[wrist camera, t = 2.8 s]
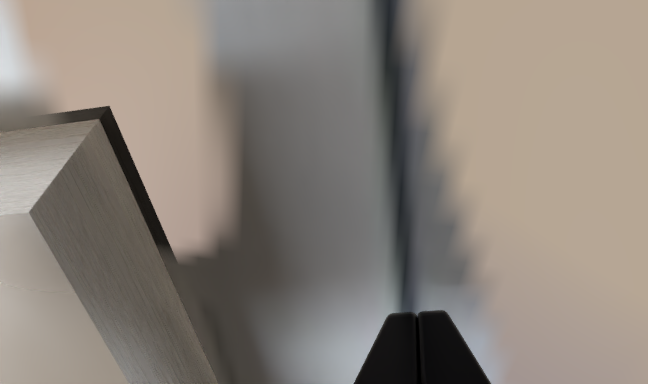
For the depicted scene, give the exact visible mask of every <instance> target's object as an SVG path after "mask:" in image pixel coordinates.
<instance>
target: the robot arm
mask: <svg viewBox="0 0 648 384" xmlns="http://www.w3.org/2000/svg"><path fill="white" fill-rule="evenodd" d="M354 384H491V383H490V381H489V379H488V378H487V376H486V375H485V373H484V371H483V370H482V368H481V367H480V365H479V363H478V362H477V360H476V358H475V357H474V355H473V354H472V352H471V350H470V349H469V347H468V345H467V344H466V342H465V341H464V339H463V337H462V336H461V334H460V332H459V331H458V329H457V328H456V326H455V324H454V323H453V321H452V319H451V318H450V316H449V315H448V313H447V312H445V311H443V310H437V311H422V312H420V313H419V314H418V318H417V315H416V314H415V313H413V312H405V313H392V314H390V315H388V316H387V318H386V320H385V322H384V324H383V326H382V328H381V330H380V332H379V334H378V336H377V338H376V340H375V342H374V344H373V346H372V348H371V350H370V352H369V354H368V356H367V358H366V360H365V362H364V364H363V366H362V368H361V370H360V372H359V374H358V376H357V378H356V380H355V382H354Z"/></svg>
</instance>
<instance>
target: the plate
mask: <svg viewBox="0 0 648 384" xmlns="http://www.w3.org/2000/svg"><path fill="white" fill-rule="evenodd" d="M55 114H56V116H57V119H58V122H59V125H51V126H44V127H36V128H29V129H21V130H14V131H6V132H0V384H218V382H217V379H216V377H215V375H214V373H213V371H212V368H211V366H210V364H209V362H208V359H207V357H206V355H205V353H204V351H203V348H202V346H201V344H200V342H199V339H198V337H197V335H196V333H195V331H194V328H193V326H192V324H191V322H190V319H189V317H188V315H187V313H186V311H185V308H184V306H183V304H182V302H181V299H180V297H179V295H178V293H177V291H176V288H175V286H174V284H173V282H172V280H171V277H170V275H169V273H168V271H167V268H166V266H165V264H164V262H163V260H162V257H161V255H160V253H159V251H158V250H163V251H167V252H170V253H173V251H172V248H171V246H170V244H169V242H168V239H167V237H166V235H165V232H164V230H163V228H162V225H161V223H160V221H159V218H158V216H157V214H156V212H155V209H154V207H153V205H152V202H151V200H150V198H149V196H148V193H147V191H146V189H145V186H144V184H143V182H142V180H141V177H140V175H139V173H138V170H137V168H136V166H135V163H134V161H133V159H132V157H131V154H130V152H129V150H128V147H127V145H126V143H125V140H124V138H123V136H122V133H121V131H120V129H119V127H118V124H117V122H116V120H115V117H114V115H113V113H112V110H111V108H110V106H104V107H97V108H89V109H82V110H75V111H67V112H60V113H55Z"/></svg>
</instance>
